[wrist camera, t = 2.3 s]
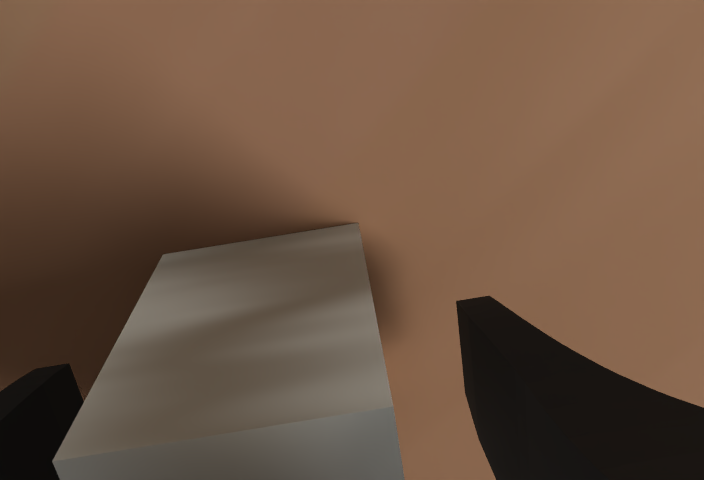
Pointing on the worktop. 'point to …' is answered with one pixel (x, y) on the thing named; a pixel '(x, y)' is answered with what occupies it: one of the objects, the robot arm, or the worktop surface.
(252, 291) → the column block
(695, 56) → the worktop surface
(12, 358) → the worktop surface
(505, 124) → the worktop surface
